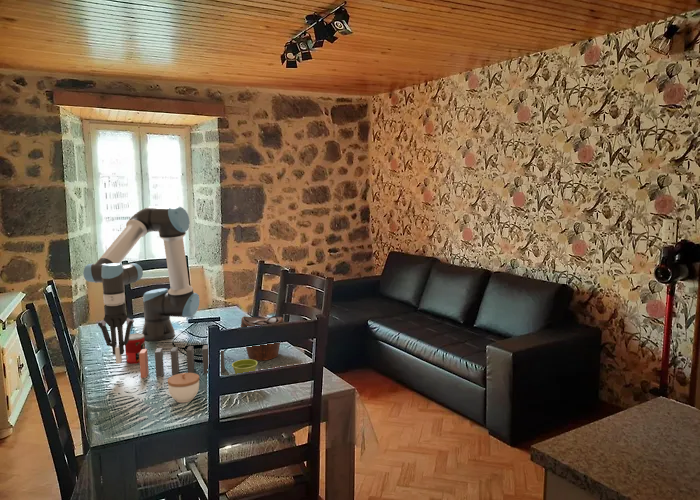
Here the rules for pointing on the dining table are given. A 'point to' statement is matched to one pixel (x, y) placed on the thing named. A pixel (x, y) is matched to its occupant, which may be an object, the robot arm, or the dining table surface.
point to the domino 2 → (159, 362)
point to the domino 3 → (174, 361)
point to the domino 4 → (190, 359)
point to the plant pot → (244, 365)
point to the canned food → (134, 348)
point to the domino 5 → (205, 358)
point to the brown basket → (263, 350)
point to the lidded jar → (183, 386)
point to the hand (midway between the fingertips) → (119, 362)
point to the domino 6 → (222, 361)
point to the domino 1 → (143, 363)
